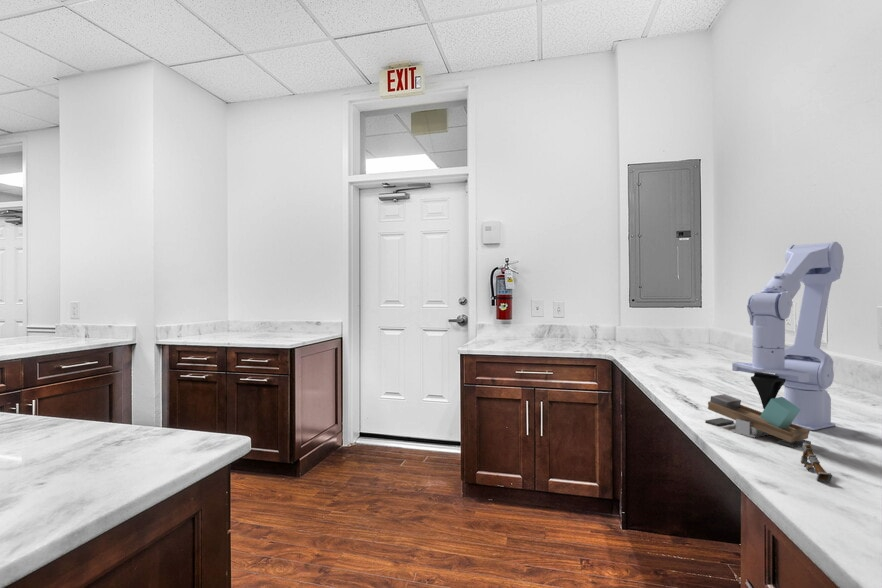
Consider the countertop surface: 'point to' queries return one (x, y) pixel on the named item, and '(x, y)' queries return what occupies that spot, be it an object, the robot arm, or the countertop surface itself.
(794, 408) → the block
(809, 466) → the wooden post with brackets
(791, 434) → the beam
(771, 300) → the robot arm
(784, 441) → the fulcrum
